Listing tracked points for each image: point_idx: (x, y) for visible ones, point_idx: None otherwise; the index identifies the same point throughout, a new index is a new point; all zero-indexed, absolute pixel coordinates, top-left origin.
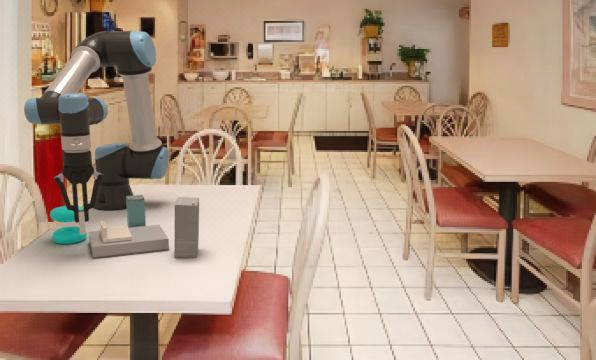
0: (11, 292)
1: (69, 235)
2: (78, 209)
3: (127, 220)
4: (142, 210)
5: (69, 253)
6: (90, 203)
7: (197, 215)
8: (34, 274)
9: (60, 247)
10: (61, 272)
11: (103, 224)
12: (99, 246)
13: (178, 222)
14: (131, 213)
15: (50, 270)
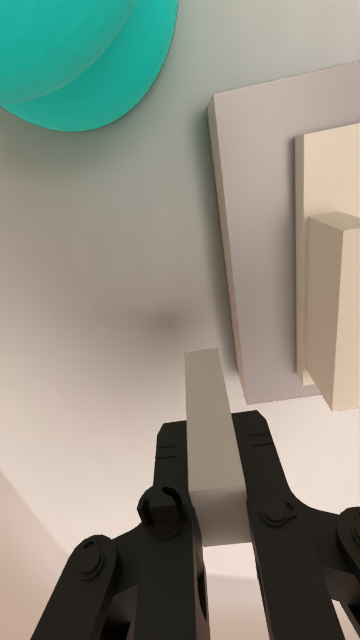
0: (65, 537)
1: (76, 110)
2: (205, 571)
3: None
4: None
5: (130, 288)
6: (352, 587)
7: None
8: (73, 461)
9: (56, 177)
10: (149, 459)
11: (351, 333)
12: (276, 398)
13: None
14: None
15: (111, 442)
